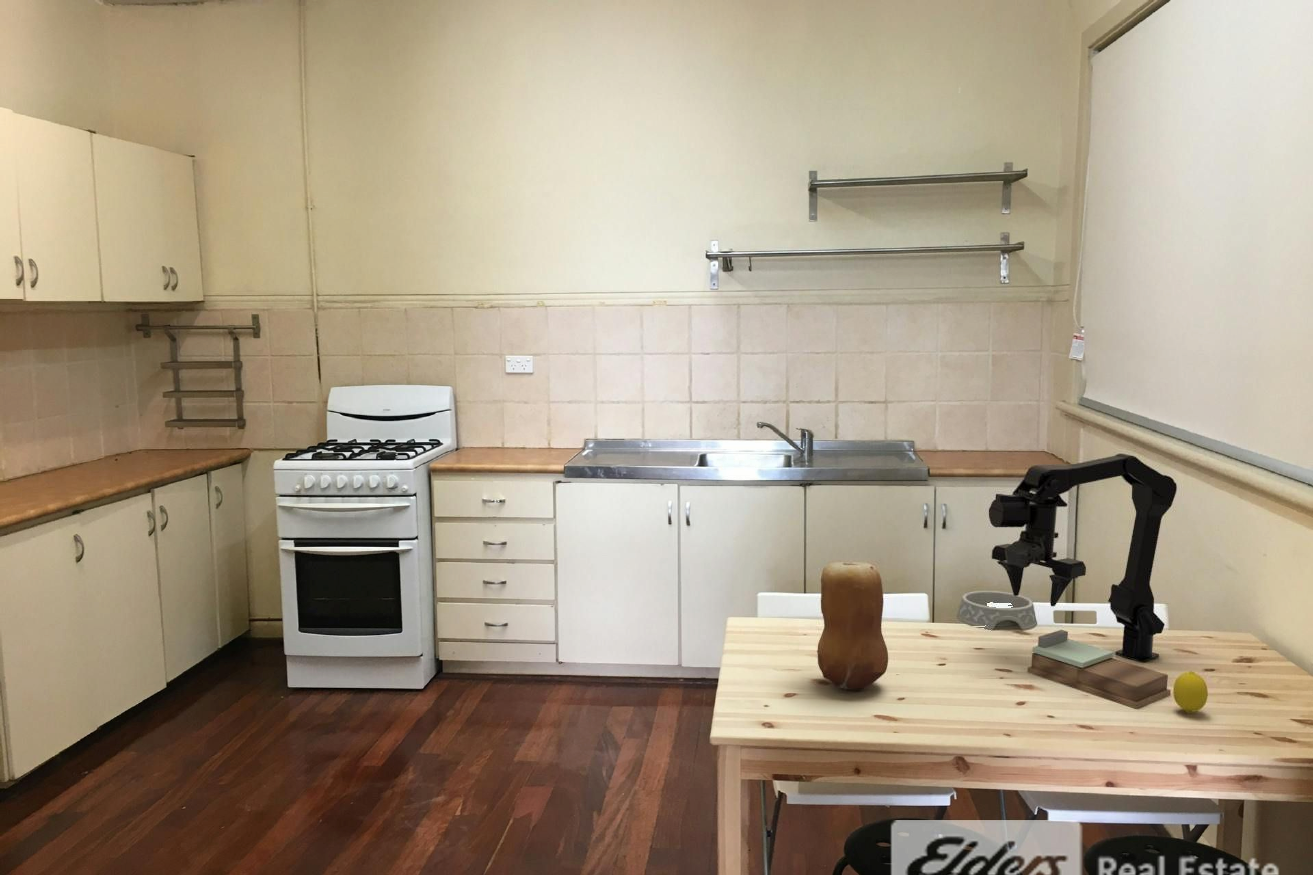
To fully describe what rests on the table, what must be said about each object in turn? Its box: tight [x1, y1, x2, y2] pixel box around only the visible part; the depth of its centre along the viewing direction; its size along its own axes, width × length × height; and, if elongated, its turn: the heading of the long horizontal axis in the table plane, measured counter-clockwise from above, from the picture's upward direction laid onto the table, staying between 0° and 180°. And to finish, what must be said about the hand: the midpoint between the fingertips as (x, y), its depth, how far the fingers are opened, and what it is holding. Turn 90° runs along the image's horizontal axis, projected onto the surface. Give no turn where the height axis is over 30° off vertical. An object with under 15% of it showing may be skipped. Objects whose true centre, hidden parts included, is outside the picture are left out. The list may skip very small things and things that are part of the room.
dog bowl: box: [956, 590, 1038, 632], centre depth 237 cm, size 17×18×5 cm
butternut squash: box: [816, 561, 889, 692], centre depth 192 cm, size 14×13×25 cm
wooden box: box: [1027, 652, 1172, 710], centre depth 196 cm, size 23×12×4 cm, turn 35°
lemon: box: [1172, 670, 1209, 714], centre depth 182 cm, size 6×6×8 cm
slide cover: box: [1031, 629, 1115, 668], centre depth 200 cm, size 11×11×3 cm
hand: (1034, 600), depth 207 cm, fingers open, 8 cm apart
